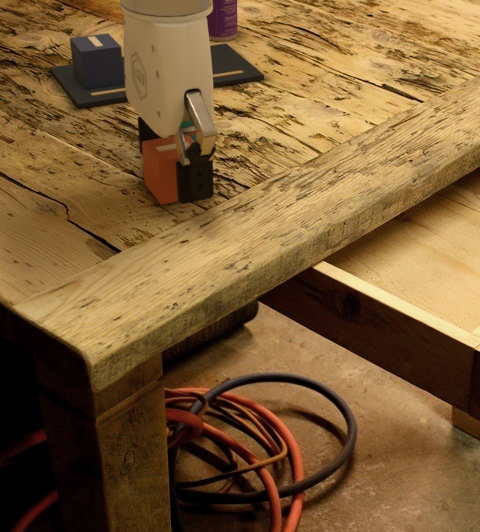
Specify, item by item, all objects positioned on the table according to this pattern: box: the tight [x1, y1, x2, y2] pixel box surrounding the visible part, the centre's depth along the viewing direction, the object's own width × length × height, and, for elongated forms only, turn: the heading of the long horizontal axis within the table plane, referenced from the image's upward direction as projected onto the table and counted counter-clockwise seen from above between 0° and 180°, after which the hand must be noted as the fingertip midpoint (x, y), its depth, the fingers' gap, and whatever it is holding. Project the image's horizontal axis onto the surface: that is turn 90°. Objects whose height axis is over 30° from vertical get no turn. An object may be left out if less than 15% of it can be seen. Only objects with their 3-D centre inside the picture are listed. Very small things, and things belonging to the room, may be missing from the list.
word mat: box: [49, 43, 265, 109], centre depth 108 cm, size 22×11×1 cm, turn 120°
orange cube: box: [142, 136, 194, 206], centre depth 85 cm, size 4×4×4 cm
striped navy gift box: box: [69, 32, 124, 89], centre depth 103 cm, size 4×4×4 cm
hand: (175, 175), depth 85 cm, fingers open, 9 cm apart
